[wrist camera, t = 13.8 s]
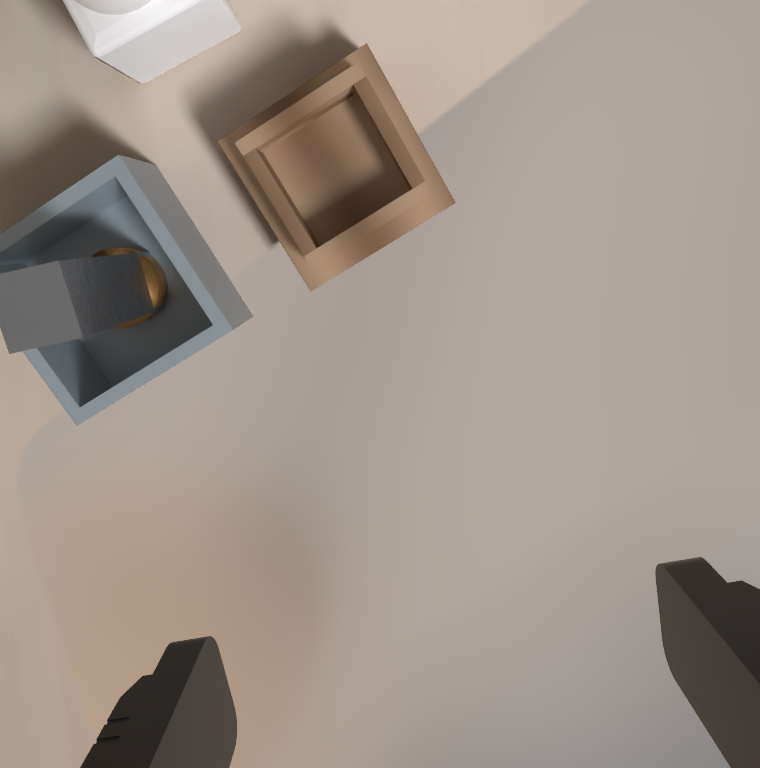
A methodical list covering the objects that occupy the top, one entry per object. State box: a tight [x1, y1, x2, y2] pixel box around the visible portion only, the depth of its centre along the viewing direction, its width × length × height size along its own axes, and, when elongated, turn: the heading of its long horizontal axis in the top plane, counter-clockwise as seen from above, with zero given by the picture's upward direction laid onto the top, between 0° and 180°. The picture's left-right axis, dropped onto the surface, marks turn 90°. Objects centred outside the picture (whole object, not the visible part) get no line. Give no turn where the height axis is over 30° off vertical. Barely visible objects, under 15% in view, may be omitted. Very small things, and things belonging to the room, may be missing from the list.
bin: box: [0, 155, 253, 425], centre depth 41 cm, size 11×11×6 cm
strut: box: [0, 247, 168, 354], centre depth 37 cm, size 5×5×12 cm
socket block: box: [218, 43, 455, 291], centre depth 39 cm, size 10×10×6 cm
